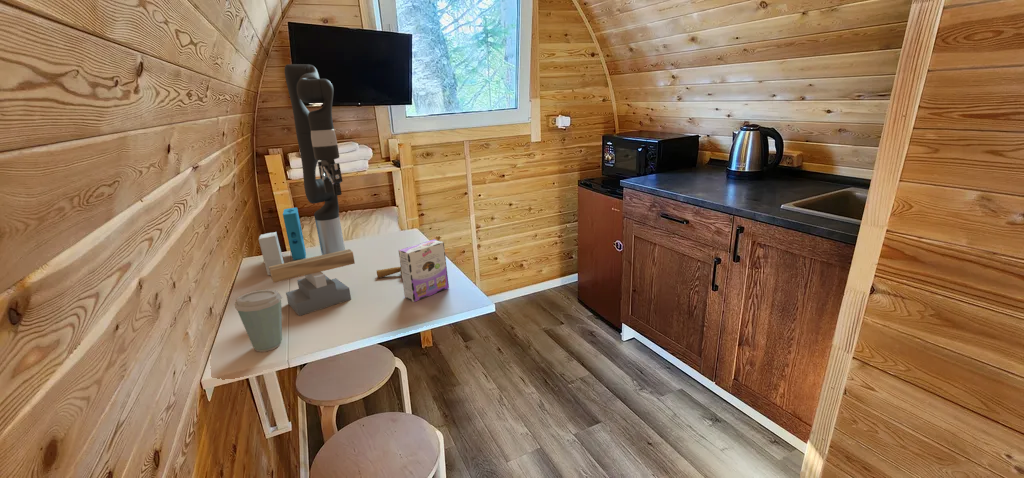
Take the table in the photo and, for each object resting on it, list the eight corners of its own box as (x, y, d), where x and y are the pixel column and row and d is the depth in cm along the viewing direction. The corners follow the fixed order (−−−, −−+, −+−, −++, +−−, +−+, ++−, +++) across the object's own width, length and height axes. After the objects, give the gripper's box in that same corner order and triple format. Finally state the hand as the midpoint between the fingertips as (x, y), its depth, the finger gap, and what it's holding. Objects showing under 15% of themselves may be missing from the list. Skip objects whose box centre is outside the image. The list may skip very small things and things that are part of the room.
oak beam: (271, 278, 134) (268, 266, 133) (351, 260, 147) (349, 249, 146) (273, 282, 131) (270, 270, 130) (354, 263, 144) (352, 252, 143)
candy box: (439, 284, 151) (434, 238, 146) (449, 288, 147) (444, 241, 142) (404, 297, 142) (397, 249, 137) (414, 302, 138) (407, 252, 133)
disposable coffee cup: (261, 336, 122) (249, 286, 117) (299, 335, 121) (288, 284, 117) (237, 357, 112) (222, 303, 107) (278, 356, 111) (265, 302, 107)
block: (305, 259, 184) (296, 213, 178) (292, 261, 182) (282, 214, 176) (306, 251, 194) (297, 207, 188) (293, 253, 193) (284, 209, 187)
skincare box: (284, 273, 170) (276, 236, 165) (266, 276, 167) (258, 238, 163) (285, 266, 177) (277, 230, 172) (268, 269, 175) (259, 233, 170)
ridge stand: (288, 303, 142) (281, 273, 139) (338, 289, 151) (332, 260, 148) (299, 315, 133) (292, 283, 130) (351, 299, 143) (345, 269, 139)
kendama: (378, 286, 156) (428, 273, 158) (373, 269, 155) (424, 256, 157) (381, 281, 164) (429, 269, 166) (377, 265, 163) (425, 253, 165)
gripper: (344, 144, 139) (352, 194, 144) (329, 142, 150) (337, 189, 155) (320, 146, 135) (329, 198, 140) (306, 144, 145) (315, 193, 150)
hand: (333, 193), depth 147 cm, fingers open, 8 cm apart
